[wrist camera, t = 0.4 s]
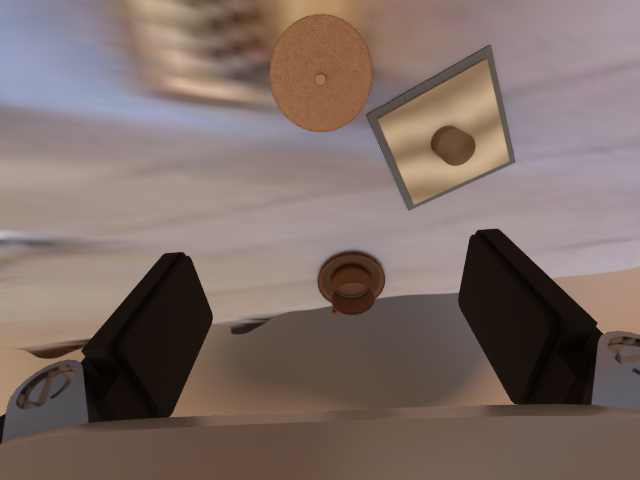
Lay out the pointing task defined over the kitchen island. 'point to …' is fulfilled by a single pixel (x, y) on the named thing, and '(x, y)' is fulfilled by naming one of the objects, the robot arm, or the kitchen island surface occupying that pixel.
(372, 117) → the rubber mat
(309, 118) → the lidded jar
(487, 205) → the kitchen island surface
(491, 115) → the birch lid
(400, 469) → the robot arm
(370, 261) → the cup and saucer
